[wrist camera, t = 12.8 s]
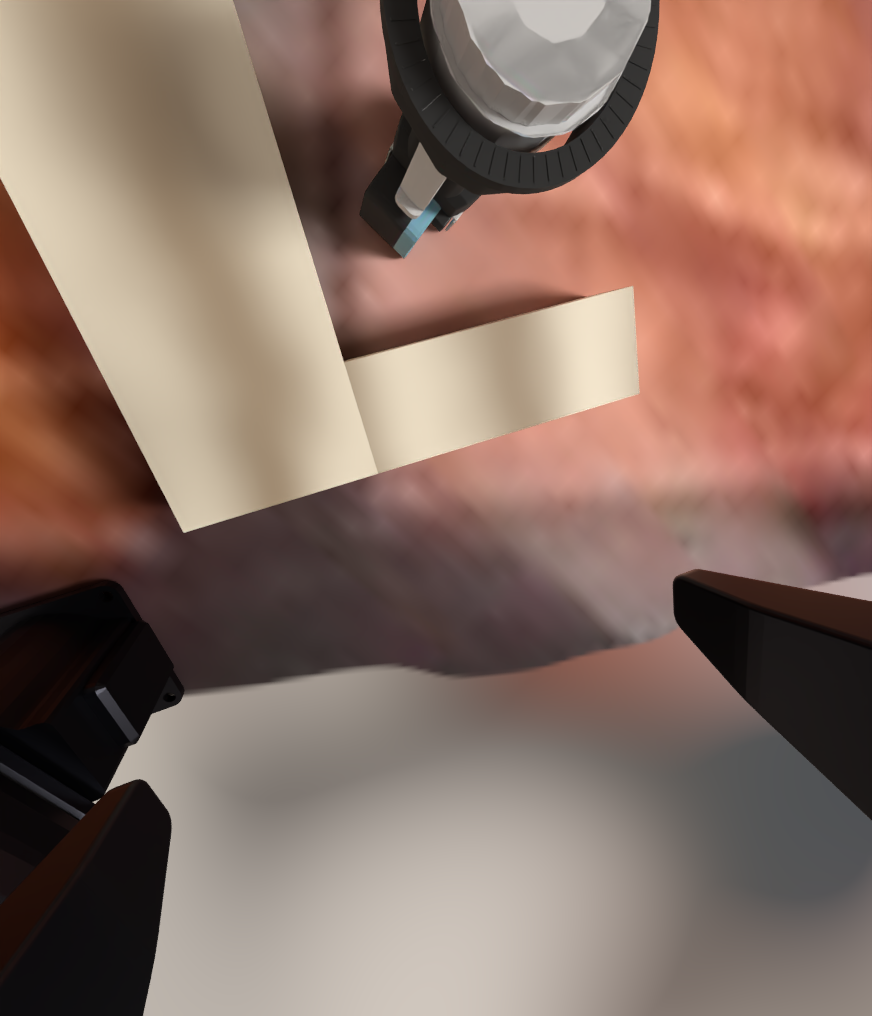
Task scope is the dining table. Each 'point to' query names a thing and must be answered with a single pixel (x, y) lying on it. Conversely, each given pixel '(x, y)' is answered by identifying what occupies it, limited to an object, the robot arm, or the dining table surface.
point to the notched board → (241, 273)
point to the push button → (502, 100)
